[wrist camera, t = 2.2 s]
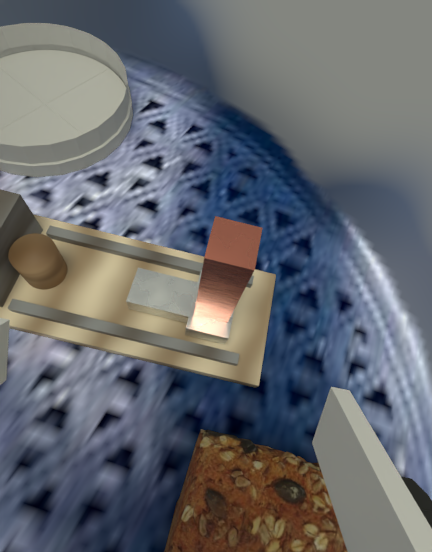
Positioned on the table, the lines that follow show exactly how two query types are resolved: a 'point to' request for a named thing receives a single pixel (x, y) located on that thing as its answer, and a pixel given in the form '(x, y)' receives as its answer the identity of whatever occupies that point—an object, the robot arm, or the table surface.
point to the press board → (124, 299)
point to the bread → (252, 501)
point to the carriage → (203, 284)
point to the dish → (59, 100)
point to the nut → (38, 261)
